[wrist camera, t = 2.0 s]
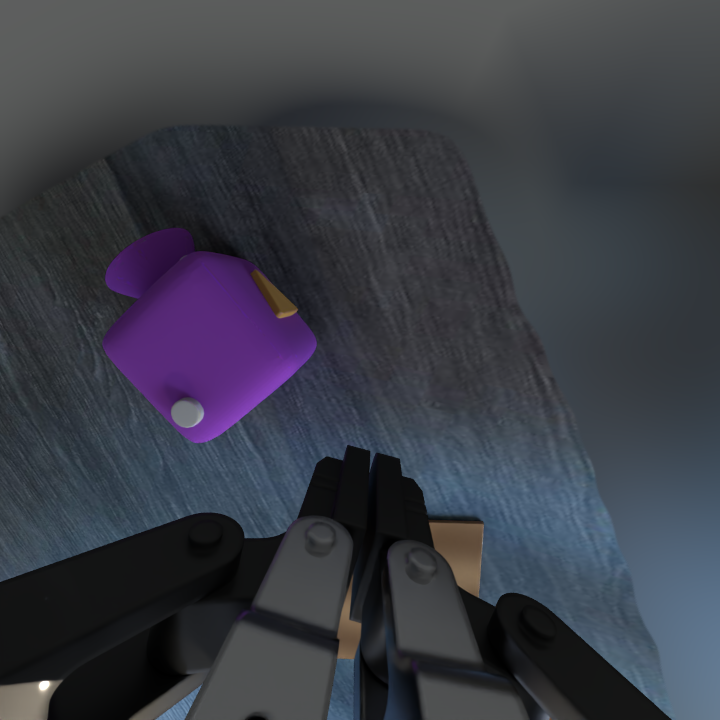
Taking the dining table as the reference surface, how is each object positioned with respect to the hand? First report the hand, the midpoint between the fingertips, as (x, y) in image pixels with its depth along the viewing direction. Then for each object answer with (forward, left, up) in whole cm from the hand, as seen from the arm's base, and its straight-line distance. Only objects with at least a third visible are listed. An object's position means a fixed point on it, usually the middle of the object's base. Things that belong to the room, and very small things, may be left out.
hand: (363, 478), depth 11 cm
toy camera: (0, -12, -19) cm, 23 cm away
